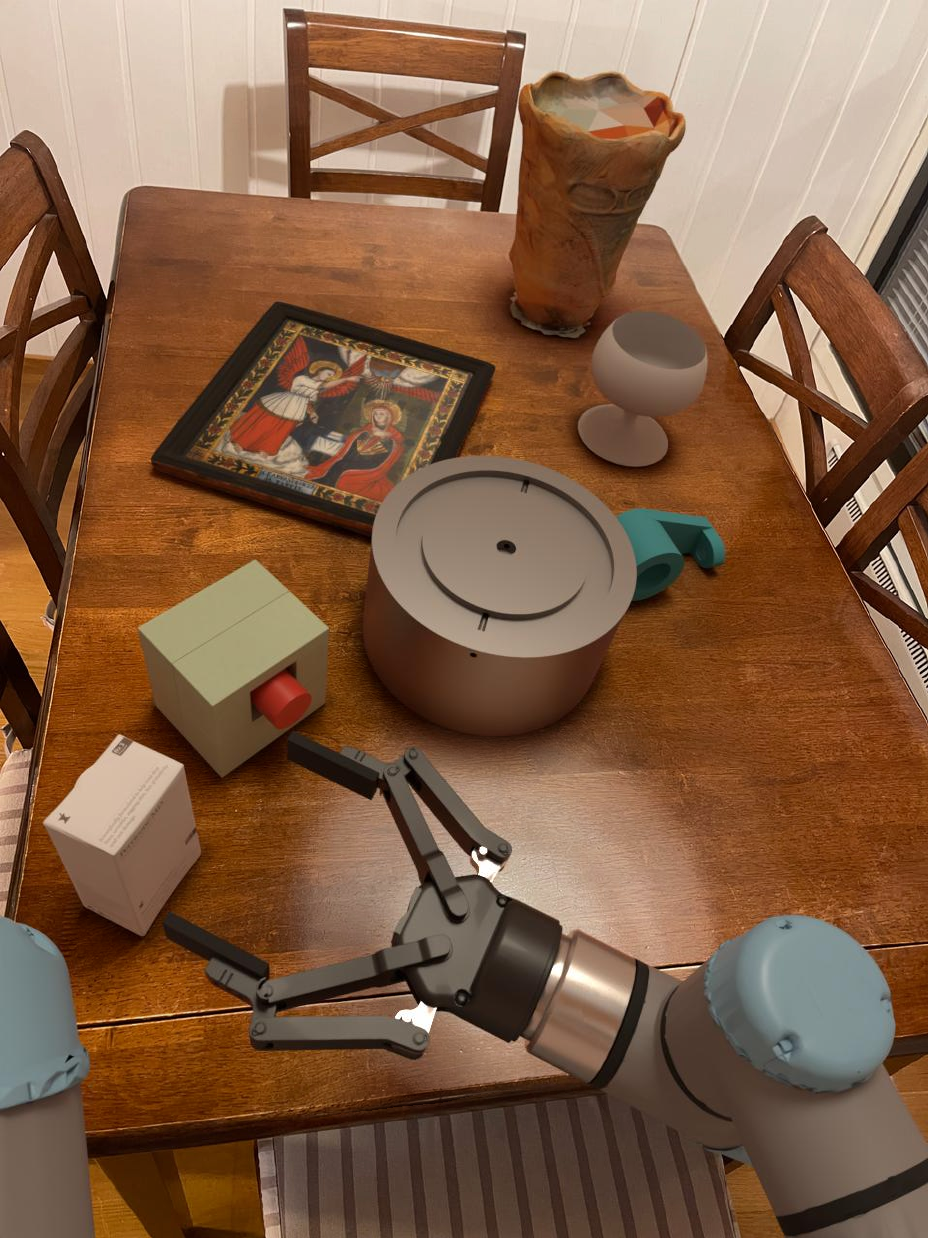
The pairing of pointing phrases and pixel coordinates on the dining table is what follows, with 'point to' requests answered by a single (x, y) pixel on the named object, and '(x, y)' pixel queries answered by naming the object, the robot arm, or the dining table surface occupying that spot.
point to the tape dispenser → (668, 546)
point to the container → (493, 593)
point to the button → (281, 700)
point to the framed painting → (324, 416)
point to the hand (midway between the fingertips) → (232, 828)
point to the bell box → (232, 662)
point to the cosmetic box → (127, 833)
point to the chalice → (642, 385)
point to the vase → (582, 190)
